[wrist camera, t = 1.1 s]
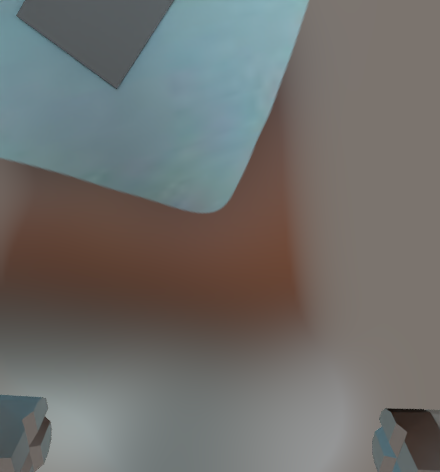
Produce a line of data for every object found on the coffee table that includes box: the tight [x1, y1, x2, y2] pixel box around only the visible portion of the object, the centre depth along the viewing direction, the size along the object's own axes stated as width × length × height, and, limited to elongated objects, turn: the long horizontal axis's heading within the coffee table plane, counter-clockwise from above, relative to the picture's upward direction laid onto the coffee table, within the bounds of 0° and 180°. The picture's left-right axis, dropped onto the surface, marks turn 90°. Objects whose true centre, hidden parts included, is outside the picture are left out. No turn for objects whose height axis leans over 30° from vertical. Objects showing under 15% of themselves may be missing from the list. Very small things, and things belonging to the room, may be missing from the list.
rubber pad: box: [16, 0, 173, 89], centre depth 34 cm, size 9×9×1 cm
